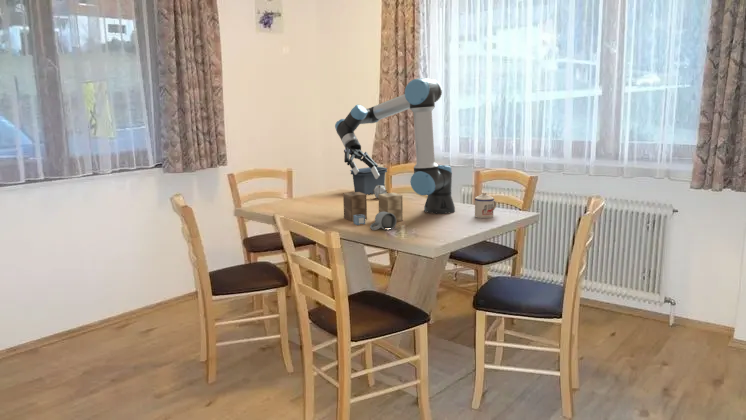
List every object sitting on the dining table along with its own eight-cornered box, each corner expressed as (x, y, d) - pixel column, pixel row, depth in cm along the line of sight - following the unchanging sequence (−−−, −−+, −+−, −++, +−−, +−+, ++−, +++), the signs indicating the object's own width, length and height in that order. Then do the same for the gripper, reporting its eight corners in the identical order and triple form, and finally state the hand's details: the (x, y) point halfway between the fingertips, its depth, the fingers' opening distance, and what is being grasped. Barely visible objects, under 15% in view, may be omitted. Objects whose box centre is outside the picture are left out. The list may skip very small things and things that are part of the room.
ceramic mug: (388, 225, 272) (388, 209, 270) (397, 229, 264) (396, 212, 263) (367, 228, 267) (366, 211, 266) (375, 232, 260) (374, 215, 258)
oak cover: (394, 217, 289) (393, 192, 286) (402, 220, 282) (402, 195, 279) (378, 219, 285) (378, 194, 283) (386, 222, 278) (386, 196, 276)
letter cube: (361, 222, 279) (361, 213, 278) (365, 224, 275) (365, 215, 275) (353, 223, 277) (353, 214, 276) (357, 225, 274) (357, 216, 273)
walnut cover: (359, 216, 293) (359, 191, 290) (366, 219, 285) (366, 194, 283) (343, 218, 289) (343, 193, 287) (350, 221, 282) (350, 195, 279)
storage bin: (363, 196, 346) (362, 171, 344) (345, 193, 358) (345, 169, 355) (390, 192, 360) (389, 168, 358) (372, 189, 372) (372, 166, 369)
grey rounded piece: (381, 205, 338) (380, 193, 331) (369, 199, 342) (368, 186, 335) (391, 196, 342) (390, 184, 335) (380, 189, 346) (378, 177, 339)
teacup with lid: (483, 219, 282) (483, 194, 280) (470, 216, 289) (470, 192, 287) (502, 216, 288) (502, 192, 286) (489, 213, 296) (489, 189, 293)
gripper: (365, 154, 314) (381, 184, 302) (328, 145, 297) (343, 176, 285) (374, 143, 310) (390, 173, 298) (336, 134, 293) (352, 165, 281)
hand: (367, 175), depth 292 cm, fingers open, 13 cm apart
